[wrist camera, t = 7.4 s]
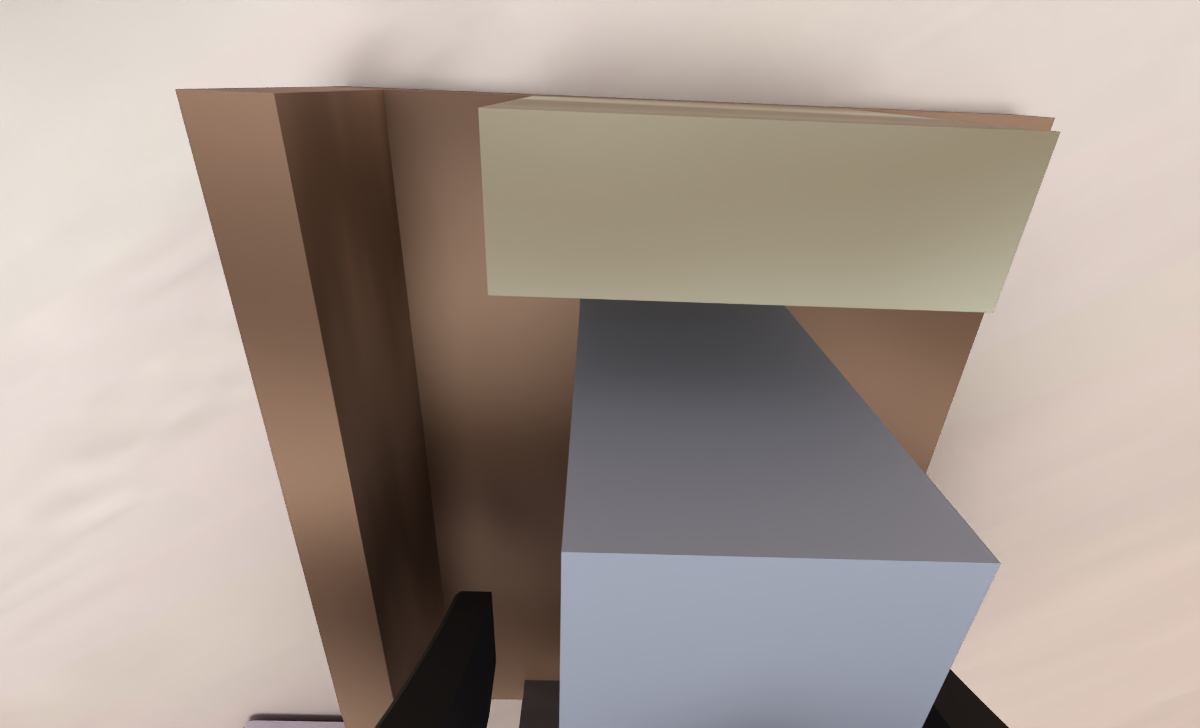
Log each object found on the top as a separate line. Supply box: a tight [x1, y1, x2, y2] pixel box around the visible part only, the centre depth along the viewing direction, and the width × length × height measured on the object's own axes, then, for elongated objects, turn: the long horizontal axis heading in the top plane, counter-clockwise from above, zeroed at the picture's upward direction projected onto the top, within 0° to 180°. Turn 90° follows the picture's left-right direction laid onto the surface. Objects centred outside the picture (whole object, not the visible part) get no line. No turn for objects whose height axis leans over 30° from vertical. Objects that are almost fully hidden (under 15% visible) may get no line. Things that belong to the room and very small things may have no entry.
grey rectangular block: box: [559, 298, 1001, 728], centre depth 11 cm, size 4×12×8 cm, turn 178°
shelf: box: [175, 86, 1060, 728], centre depth 13 cm, size 18×14×7 cm
